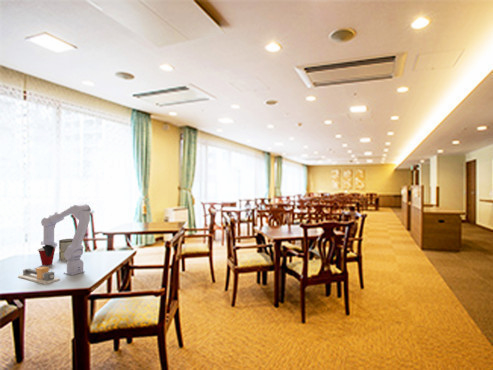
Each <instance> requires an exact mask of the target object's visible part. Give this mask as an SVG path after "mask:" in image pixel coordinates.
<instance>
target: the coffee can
mask: <svg viewBox="0 0 493 370" xmlns="http://www.w3.org/2000/svg"><path fill="white" fill-rule="evenodd" d="M72 241H73V238H65V239H64V238H63V239H62V238H61V239H59V240H58V246H59V247H58V249H59V250H58V254H59V255H58V257H59V258H58V260H59V261H60V260H61V261H67V260H66V259H65V257H64V252H65V251H66V250H67V247H68V246H69V245H71V244H72Z"/></svg>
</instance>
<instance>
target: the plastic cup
mask: <svg viewBox="0 0 493 370" xmlns="http://www.w3.org/2000/svg"><path fill="white" fill-rule="evenodd" d="M56 248H57V246H55V247H54V249H53V251H52V254H51V256H50V257H46V253H45V251H44V249H43V247H41V248H37V251H38V254H39V258H40V261H41V265H42V267H44V266H45V267H47V266H50V265H53V260H54V256H55V251H56Z"/></svg>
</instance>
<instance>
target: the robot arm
mask: <svg viewBox="0 0 493 370" xmlns="http://www.w3.org/2000/svg"><path fill="white" fill-rule="evenodd" d="M91 212H92V209H91V206H90V205H89V204H85V203H84V204H77V205H76V204H74V205H72V206H71V205H70V207H68V208H67V209H66V210H65V209H64V210H63V211H62V212H60V211H59V212H58V211H56V212H54V213H53V214H52V215H49V216H48V217H43V218H42V219H41V222H40V223H41V226H43V238H42V239H43V241H41V242H40V245H41V246H42V248H43V249H44V251H45V253H46V257H50V256H51V254H52V251H53V249H54V247H55V246H56V247H58V243H57V242H55V228H56V225H57V224H58V223H59V222H61V221H64V220H65V217H67V216H70V215H73V217H74V218H76V219H77V221H78V224H77V226H76V229H75V231H74V235H73V238H72V239H73V241H72V244H71V245H69V246H68V247H67V250H66V251H65V252H64V257H65V259H66V260H65V261H66V271H63V274H66V275H69V276H75V275H78V274H82V273H85V270H84V261H83V260H82V259H81V258H82V255H83V253H84V246H83V245H82V244H83V240H84V237H85V235H86V232H87V229H88V227H89V223H90V221H91Z"/></svg>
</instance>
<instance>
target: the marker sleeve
mask: <svg viewBox="0 0 493 370" xmlns="http://www.w3.org/2000/svg"><path fill="white" fill-rule="evenodd" d="M35 270H36V272H37V278H40V279H43V278H42V273H45V272H50V267H49V266H40V267H37V268H35Z"/></svg>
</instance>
